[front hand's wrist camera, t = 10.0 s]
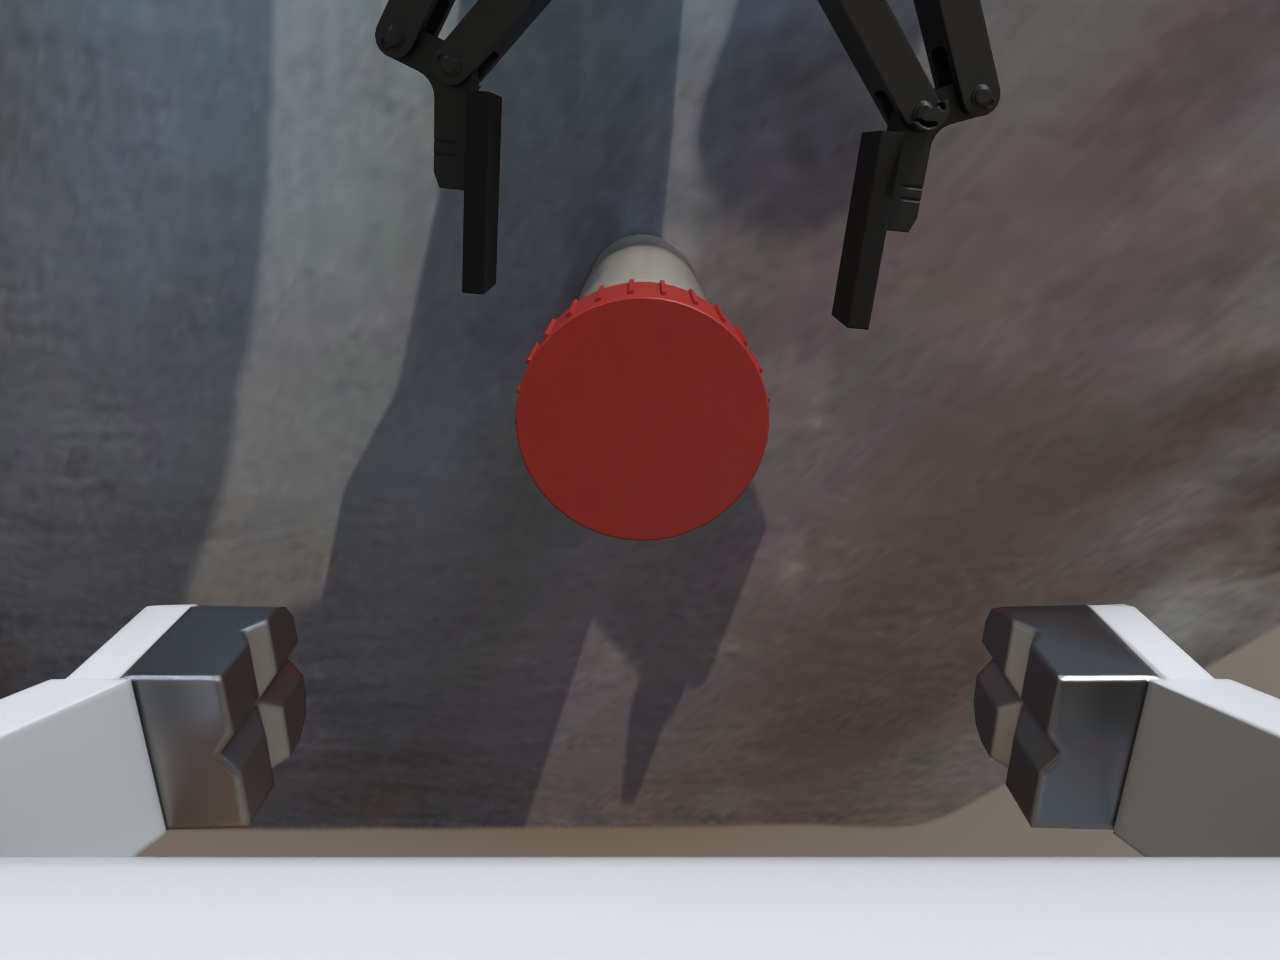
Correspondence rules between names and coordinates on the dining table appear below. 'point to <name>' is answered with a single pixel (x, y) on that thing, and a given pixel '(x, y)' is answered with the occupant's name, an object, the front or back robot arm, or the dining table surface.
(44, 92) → the dining table surface
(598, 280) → the cream cylinder
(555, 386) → the lid
